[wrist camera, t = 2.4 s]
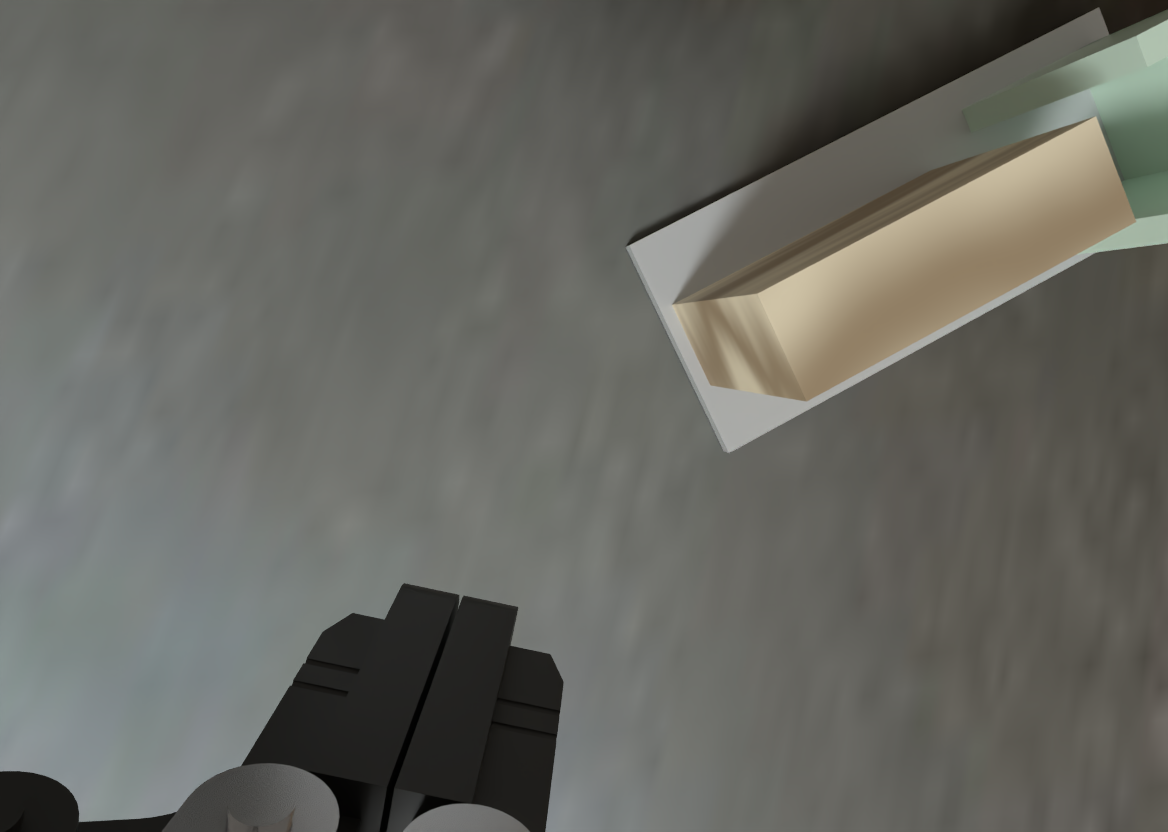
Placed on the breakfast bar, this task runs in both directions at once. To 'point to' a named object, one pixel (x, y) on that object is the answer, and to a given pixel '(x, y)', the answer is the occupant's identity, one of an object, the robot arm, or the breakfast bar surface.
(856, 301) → the tan wooden block
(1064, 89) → the end cap
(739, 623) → the breakfast bar surface
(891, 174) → the board
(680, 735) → the breakfast bar surface
